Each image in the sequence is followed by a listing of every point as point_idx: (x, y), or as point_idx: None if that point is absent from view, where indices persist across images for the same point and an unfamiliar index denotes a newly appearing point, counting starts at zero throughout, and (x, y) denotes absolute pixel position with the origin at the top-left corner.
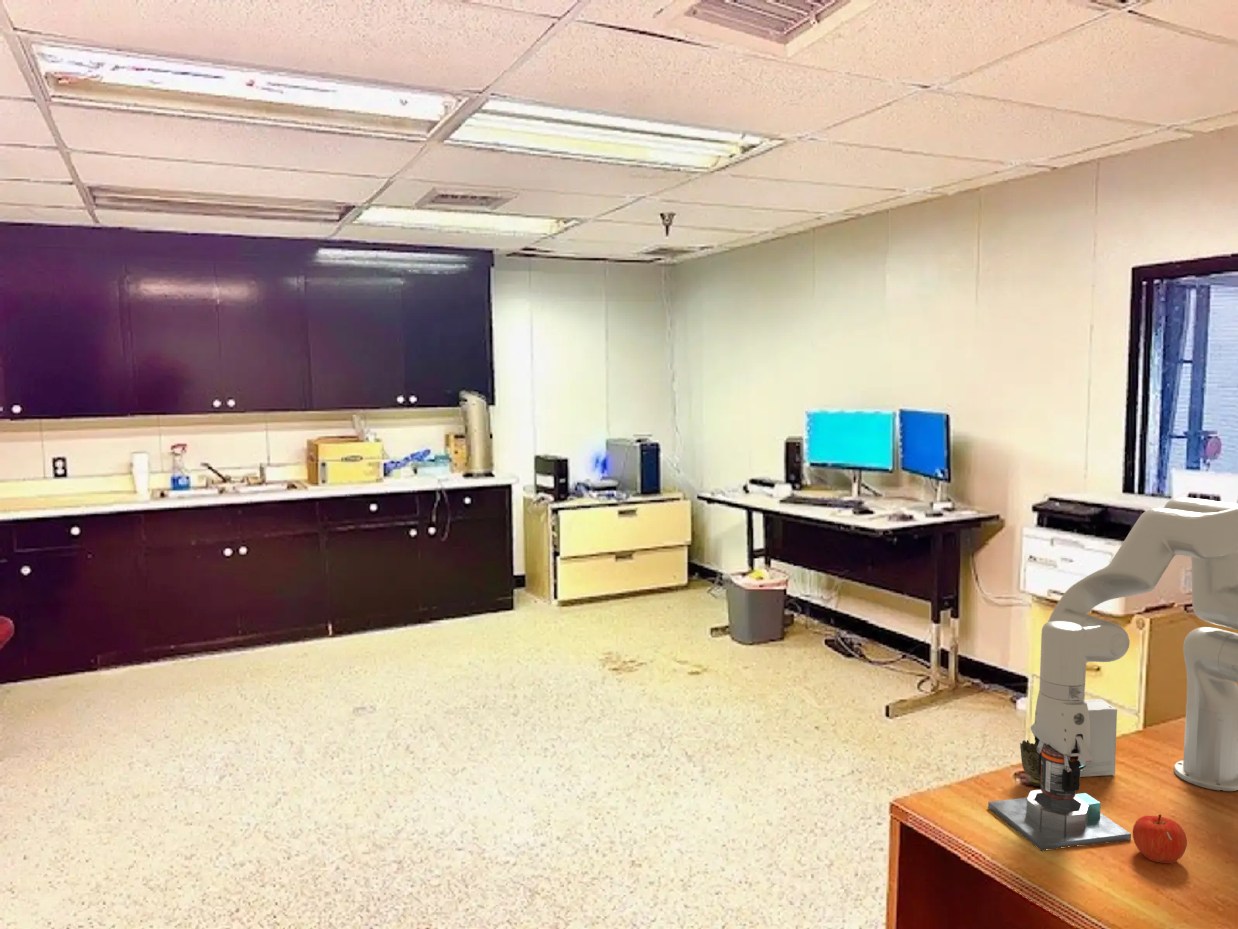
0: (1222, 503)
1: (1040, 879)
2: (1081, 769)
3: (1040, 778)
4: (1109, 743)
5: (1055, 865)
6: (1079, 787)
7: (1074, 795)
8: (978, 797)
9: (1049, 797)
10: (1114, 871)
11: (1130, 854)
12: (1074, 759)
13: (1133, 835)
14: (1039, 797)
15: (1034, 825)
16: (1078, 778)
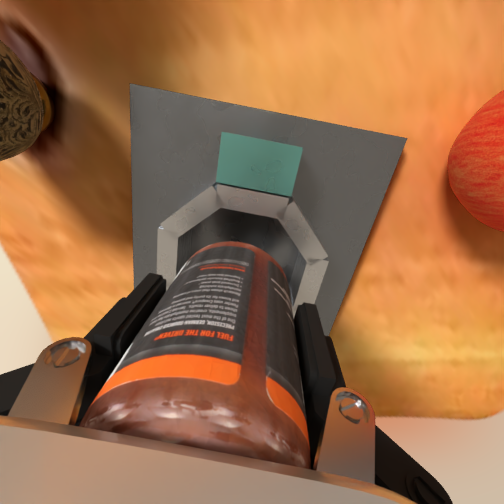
0: None
1: (374, 408)
2: (368, 414)
3: (40, 131)
4: None
5: (361, 365)
6: (316, 307)
7: (285, 277)
8: (94, 305)
9: (183, 238)
10: (445, 297)
11: (434, 206)
12: (316, 453)
13: (477, 216)
14: (180, 269)
15: None
16: (339, 368)
